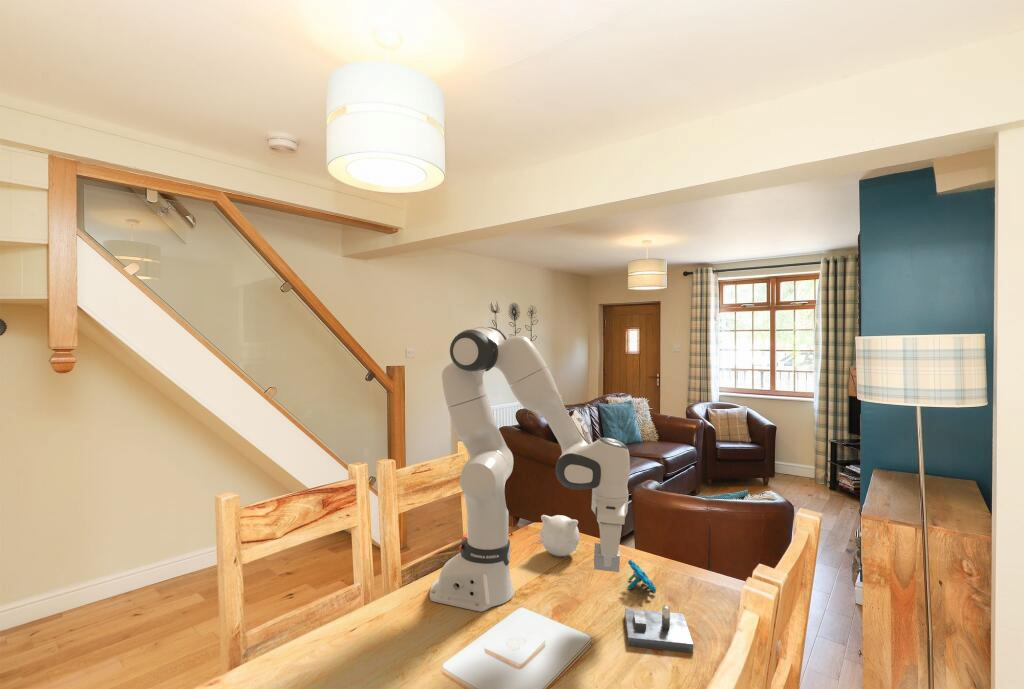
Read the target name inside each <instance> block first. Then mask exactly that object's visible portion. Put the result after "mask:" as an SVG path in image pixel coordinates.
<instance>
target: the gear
mask: <svg viewBox="0 0 1024 689" xmlns="http://www.w3.org/2000/svg"><path fill="white" fill-rule="evenodd" d="M627 564H628V565H629V566H630V568H631V570H633V571H632V575H631V576H630V577H629V578H627V580H628V581H629V582H630V584H629V585H627V587H628V589H630V590H631V589H633V588H634V586H636V585H637V584H638V583H641V582H642V583H643V584H644V585H646V586H647V587H648V589H649V590H650V591H652V592H653V593H655V592H656V591H657V587H656V586H655V585H654V583H653V581H652V580H650V579H649V576H647V574H646V572H645V571H644V570H642V568H641V567H640V566H639V565H638V564H636V563H635V561H633V559H629V560H628V561H627ZM634 578H635V579H634ZM633 579H634V580H633Z"/></svg>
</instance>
